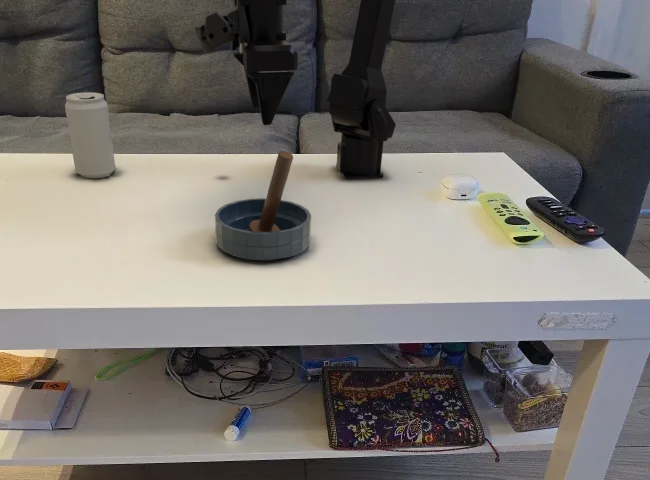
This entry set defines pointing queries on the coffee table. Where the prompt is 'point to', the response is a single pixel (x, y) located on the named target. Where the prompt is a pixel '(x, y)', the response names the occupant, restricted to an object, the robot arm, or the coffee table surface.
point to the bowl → (262, 245)
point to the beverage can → (90, 134)
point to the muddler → (273, 195)
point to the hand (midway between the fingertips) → (261, 116)
